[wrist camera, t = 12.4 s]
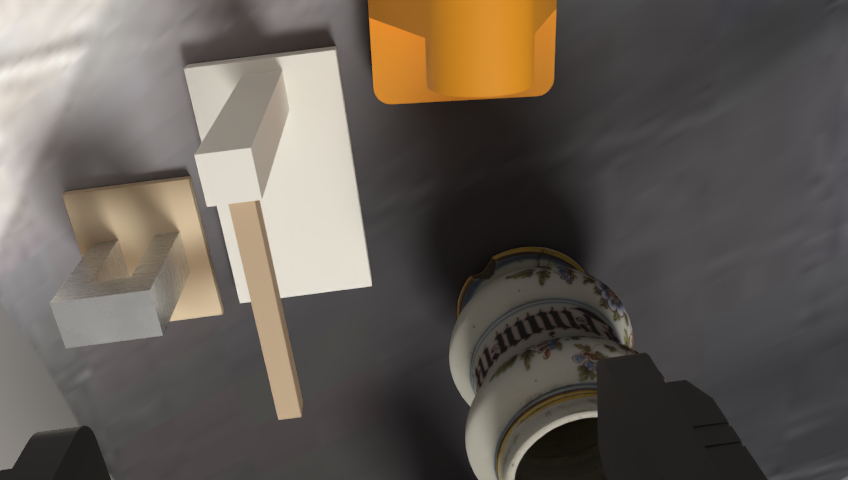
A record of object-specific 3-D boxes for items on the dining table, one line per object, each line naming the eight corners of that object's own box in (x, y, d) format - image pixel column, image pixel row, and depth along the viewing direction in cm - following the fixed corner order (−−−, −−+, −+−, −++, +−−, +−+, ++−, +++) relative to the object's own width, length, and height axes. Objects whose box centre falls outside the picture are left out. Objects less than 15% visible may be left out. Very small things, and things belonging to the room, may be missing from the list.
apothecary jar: (521, 197, 52) (594, 341, 36) (641, 295, 56) (755, 464, 40) (406, 320, 56) (425, 502, 39) (526, 404, 60) (589, 601, 43)
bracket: (373, 93, 49) (377, 155, 38) (365, -28, 46) (368, 1, 35) (543, 84, 49) (595, 142, 38) (547, -37, 46) (605, -11, 35)
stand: (187, 64, 47) (111, 146, 33) (336, 46, 47) (325, 119, 33) (242, 294, 54) (198, 447, 39) (371, 277, 54) (375, 423, 40)
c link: (94, 242, 51) (49, 303, 44) (179, 231, 51) (149, 290, 44) (106, 282, 52) (65, 348, 45) (190, 272, 52) (163, 335, 45)
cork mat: (65, 191, 50) (61, 194, 49) (190, 175, 50) (188, 178, 49) (108, 324, 54) (106, 329, 54) (223, 309, 54) (222, 314, 54)
